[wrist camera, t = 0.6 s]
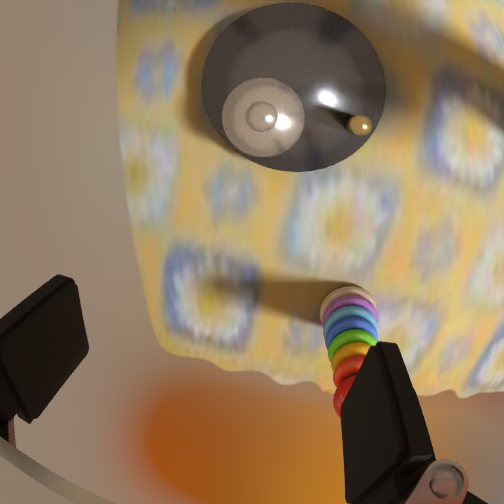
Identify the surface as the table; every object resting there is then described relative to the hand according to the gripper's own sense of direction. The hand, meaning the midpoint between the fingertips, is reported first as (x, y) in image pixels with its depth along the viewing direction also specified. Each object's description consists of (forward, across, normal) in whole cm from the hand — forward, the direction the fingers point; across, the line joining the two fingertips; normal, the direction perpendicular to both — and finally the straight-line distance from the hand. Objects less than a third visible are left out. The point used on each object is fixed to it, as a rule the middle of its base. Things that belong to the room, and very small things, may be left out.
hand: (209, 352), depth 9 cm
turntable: (+28, 0, -12) cm, 31 cm away
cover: (+27, +2, -8) cm, 28 cm away
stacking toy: (+30, -13, +15) cm, 36 cm away
